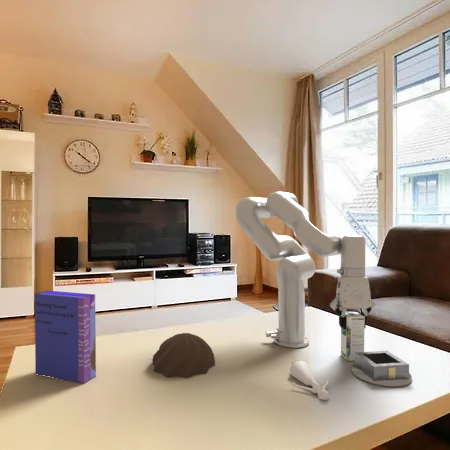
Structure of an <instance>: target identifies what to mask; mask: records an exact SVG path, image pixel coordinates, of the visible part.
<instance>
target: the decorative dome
mask: <svg viewBox="0 0 450 450" xmlns="http://www.w3.org/2000/svg"><path fill="white" fill-rule="evenodd" d="M152 365H153V366H154V367H153V368H152V369H153V370H152V371H153V372H154V373H159V374H161V375H162V376H163V377H165V378H174V377H175V378H176V377H178V378H184V379H189V378H192V377H193V376H198V375H206V374H207V373H208V372H209V369H212V368H214V367H216V360H215V354H214V351H213V349H212V347H211V346H210V345H209V344H208V342H207V341H206V340H204V339H203V338H202V337H201V336H199V335H197V334H192V333H190V332H182V333H177V334H174V335H173V336H171V337H168V338H167V339H165V340H164V341H163V342H161V344H160V345H159V348H158V350H156V352H155V353H154V354H153V356H152Z"/></svg>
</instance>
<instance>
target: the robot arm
mask: <svg viewBox="0 0 450 450" xmlns="http://www.w3.org/2000/svg"><path fill="white" fill-rule="evenodd" d="M275 217H276V218H277V219H279V220H280V221H282V222H283V223H284V224H285V225H286V226H288V227H289V228H290V229H291V230H292V231H293V234H294V236H295V237H296V239H297V240H298V241H299V243H298V241H296V239H294V238H293V237H291V236H289V235H285V234H284V235H283V234H282V235H278V234H276V233H275V232H274V230H272V229H271V228H270V226H269V225H268V224H267V223H265V222H264V221H262V220H261V219H270V218H275ZM235 218H236V221H237V223H238V226H239V228H241V230H242V231H243V232H244V233H245V234H246V236H248V238H249V239H250V240H251V241H252V242H253V244H254V245H255V247H257V248H258V250H259V251H260V252H261V253H262V254H263V256H264V257H265V258H266V259H267V260H268V261H274V262H275V261H278V263H277V265H276V268H275V275H276V280H277V281H276V282H277V288H278V292H277V293H278V297H277V298H278V299H277V300H278V327H276V329H275V330H273V331H265V337H266V338H270V339H273V340H274V341H273V342H274V343H275V344H276V345H278V346H280V347H284V348H290V349H291V348H293V349H297V348H305V347H307V346H308V345H309V344H310V339H309V338H308V337H307V336H306V334H305V331H306V329H305V326H306V325H305V323H306V321H305V317H306V315H305V314H306V313H305V310H306V305H305V304H306V301H305V300H306V299H305V295H306V294H305V288H304V285H303V281H305V280H308V279H310V278H312V277H313V276H314V274H315V273H316V264H315V261H314V259H313V258H312V257H311V256H310V255H309V253H308V252H307V251H306V250H305V249H304V248H303V247H302V246H301V245H300V243H301V244H302V245H303V246H304V247H305V248H306V249H307V250H308V251H310V252H311V253H312V254H314V255H316V256H318V257H321V258H325V257H331V256H332V257H333V256H339V255H340V266H339V269H337V270H336V273H337V274H340V275H339V276H338V280H337V285H336V291H335V293H336V294H335V298H334V299H333V300H332V301H331V302H330V303H329V307H330V308H331V309H332V310H333V311H334V312H335V313H336V314H337V315H338V325H339V327H340V328H343V329H346V317H345V314H346V312H348V311H347V310H359V312H360V313H359V314H361V315H362V316H365V326H364V329H366V325H367V317H368V316H369V313H370V312H371V311H372V309H373V308H375V306H376V302H375V301H373V299H372V297H371V289H370V287H371V286H370V281H369V277H367V276H366V237H365V236H363V235H362V234H361V235H360V234H342V233H323V231H321V230H320V229H318V228H317V227H316V226H314V224H312V223H311V222H310V220H309V218H310V213H309V211H308V210H307V209H305V208H304V207H303V206H302V205H300V203H299V199H298V197H296V195H295V194H294V193H291V192H288V191H287V192H286V191H274V192H271V193H270V194H269V195H268V196H267V197H259V196H257V197H256V196H248V197H243V198H242V199H240V200H239V201H238V202H237V204H236V209H235ZM338 306H339V307H338Z"/></svg>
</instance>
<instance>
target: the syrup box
mask: <svg viewBox="0 0 450 450" xmlns="http://www.w3.org/2000/svg"><path fill="white" fill-rule="evenodd" d="M345 317H346V329H343V328H341V327H340V328H341V329H340V356H342V357H343V359H345V360H346V361H347V362H355V352H365V328H364V326H365V316H362V315H361V314H360V313H359V312H357V311H346V314H345Z"/></svg>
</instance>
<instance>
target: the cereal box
mask: <svg viewBox="0 0 450 450" xmlns="http://www.w3.org/2000/svg"><path fill="white" fill-rule="evenodd" d="M96 332H97V331H96V294H94V293H84V292H83V293H81V292H72V291H71V292H68V291H59V290H58V291H56V290H44V291H43V290H42V291H38V292H36V293H34V336H35V337H34V339H35V340H34V342H35V343H34V344H35V347H34V348H35V349H34V351H35V354H34V355H35V362H34V363H35V364H34V365H35V375H36V374H38V375H37V376H39V375H45V376H50V377H54V378H53V379H55V378H58V379H57V380H60V379H62V380H61V381H67V382H72V383H76V384H77V383H78V384H85V385H86V384H87V383H88V382H89V381H91V380H93V379H95V378H96V377H97V374H96V373H97V364H96V363H97V361H96V360H97V359H96V355H97V354H96V352H97V351H96V347H97V346H96V345H97V343H96V336H97V335H96V334H97V333H96ZM50 377H49V378H50Z"/></svg>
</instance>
